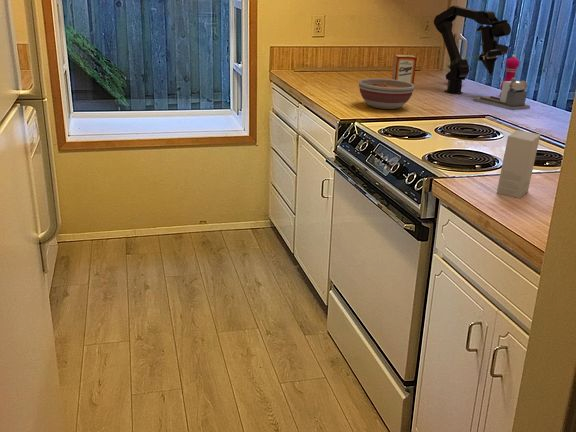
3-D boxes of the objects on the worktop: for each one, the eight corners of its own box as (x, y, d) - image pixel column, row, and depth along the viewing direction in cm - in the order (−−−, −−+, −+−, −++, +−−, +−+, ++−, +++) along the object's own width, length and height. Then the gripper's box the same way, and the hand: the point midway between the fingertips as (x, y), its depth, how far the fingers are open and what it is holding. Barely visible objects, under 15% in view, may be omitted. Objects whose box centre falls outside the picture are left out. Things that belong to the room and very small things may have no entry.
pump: (499, 101, 277) (504, 76, 273) (507, 101, 280) (512, 76, 276) (507, 103, 274) (511, 78, 270) (515, 102, 277) (519, 77, 272)
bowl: (377, 114, 246) (380, 88, 242) (346, 102, 264) (348, 79, 261) (422, 111, 256) (426, 87, 252) (389, 100, 275) (392, 77, 271)
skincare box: (505, 185, 167) (515, 129, 162) (530, 191, 164) (542, 133, 158) (495, 193, 161) (506, 134, 155) (521, 199, 157) (533, 139, 152)
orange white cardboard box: (393, 89, 303) (397, 55, 297) (391, 86, 309) (394, 53, 303) (412, 90, 303) (416, 56, 298) (409, 87, 310) (413, 54, 304)
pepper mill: (515, 99, 295) (523, 55, 287) (499, 97, 296) (507, 54, 288) (513, 96, 301) (521, 54, 294) (497, 95, 302) (505, 53, 295)
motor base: (473, 100, 285) (477, 74, 281) (490, 98, 291) (495, 73, 287) (511, 110, 268) (516, 83, 264) (529, 108, 274) (534, 81, 270)
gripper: (512, 34, 272) (515, 70, 274) (499, 40, 290) (502, 74, 292) (487, 37, 272) (489, 73, 275) (475, 43, 291) (478, 77, 293)
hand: (490, 74), depth 284 cm, fingers closed
